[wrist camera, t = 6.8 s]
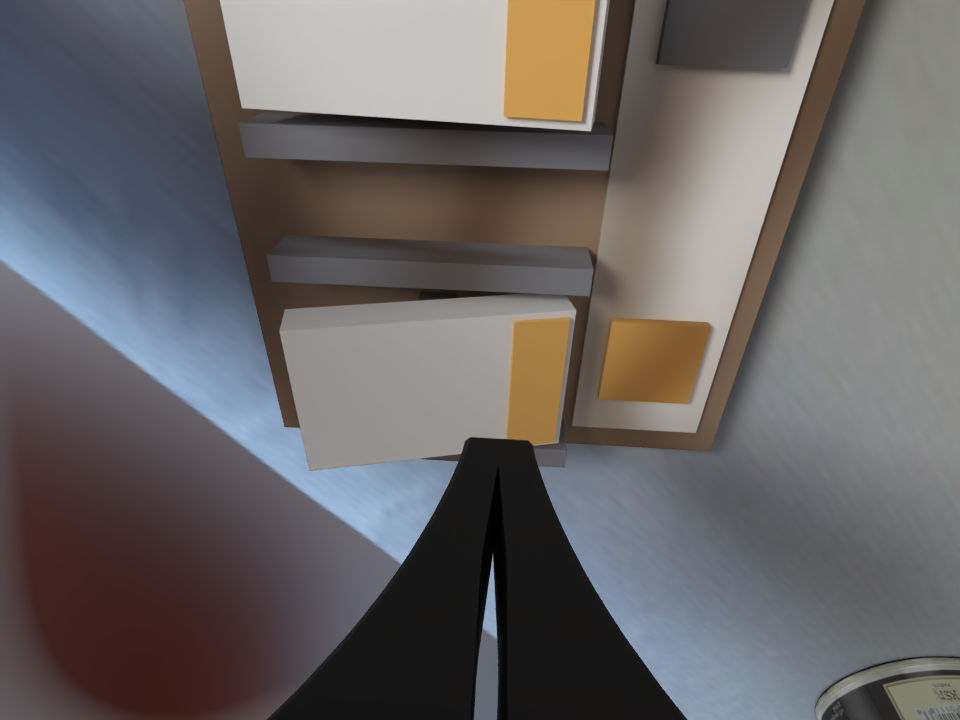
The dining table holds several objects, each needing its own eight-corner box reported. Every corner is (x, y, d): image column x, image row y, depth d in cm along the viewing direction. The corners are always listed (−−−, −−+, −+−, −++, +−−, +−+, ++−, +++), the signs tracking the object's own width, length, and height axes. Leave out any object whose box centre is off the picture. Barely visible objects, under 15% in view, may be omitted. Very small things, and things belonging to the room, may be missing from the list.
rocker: (312, 444, 18) (308, 474, 16) (284, 309, 15) (278, 334, 14) (548, 419, 19) (560, 446, 18) (563, 291, 16) (577, 312, 15)
